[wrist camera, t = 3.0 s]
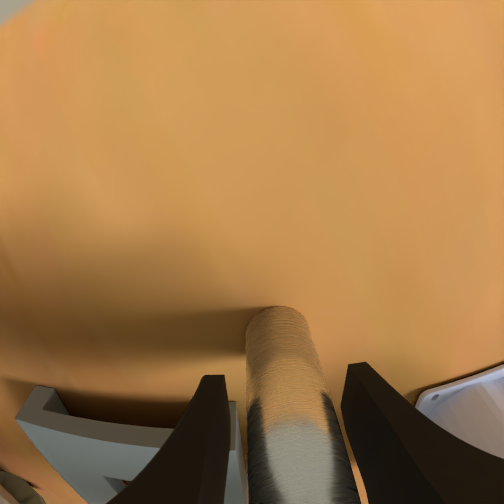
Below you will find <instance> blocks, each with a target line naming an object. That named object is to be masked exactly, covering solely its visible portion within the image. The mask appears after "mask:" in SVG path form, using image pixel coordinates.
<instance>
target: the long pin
mask: <svg viewBox="0 0 504 504" xmlns="http://www.w3.org/2000/svg"><path fill="white" fill-rule="evenodd" d="M246 399H247V453H248V498H249V504H361V501H360V497H359V493H358V490H357V486H356V482H355V479H354V475H353V471H352V468H351V464H350V461H349V457H348V454H347V450H346V447H345V443H344V440H343V436H342V433H341V429H340V426H339V423H338V419H337V416H336V412H335V409H334V406H333V402H332V399H331V396H330V393H329V389H328V386H327V383H326V380H325V376H324V373H323V370H322V367H321V363H320V360H319V357H318V354H317V351H316V348H315V344H314V341H313V338H312V335H311V332H310V329H309V326H308V323H307V321H306V319H305V317H304V316H303V315H302V314H301V313H299V312H298V311H296V310H294V309H292V308H289V307H282V306H277V307H271V308H267V309H264V310H262V311H260V312H259V313H257V314H256V315H255V316H254V317H253V318H252V319H251V320H250V321H249V323H248V325H247V328H246Z"/></svg>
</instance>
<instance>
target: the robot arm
mask: <svg viewBox="0 0 504 504" xmlns="http://www.w3.org/2000/svg"><path fill="white" fill-rule="evenodd" d="M341 411H342V416H343V421H344V425H345V430H346V433H347V436H348V439H349V442H350V445H351V448H352V451H353V453H354V456H355V459H356V462H357V465H358V468H359V471H360V473H361V476H362V479H363V482H364V486H365V489H366V493H367V498H368V503H369V504H504V364H503V365H500V366H498V367H495V368H493V369H490V370H487V371H485V372H482V373H479V374H476V375H473V376H470V377H467V378H464V379H461V380H458V381H455V382H452V383H449V384H445V385H442V386H439V387H435V388H432V389H428V390H426V391H424V392H422V394H421V395H420V396H419V398H418V401H417V403H416V405H415V407H414V406H413V405H412V404H410V403H409V402H408V401H407V400H406V399H405V398H404V397H403V396H401V395H400V394H399V393H398V392H397V391H396V390H395V389H394V388H393V387H392V386H391V385H390V384H388V383H387V382H386V381H385V380H384V379H383V378H382V377H381V376H380V375H379V374H378V373H377V372H376V371H375V370H374V369H373V368H372V367H371V366H370V365H369V364H368V363H367V362H361V363H355V364H348V369H347V375H346V380H345V385H344V391H343V396H342V401H341ZM230 444H231V415H230V409H229V402H228V396H227V389H226V382H225V376H224V375H205V376H203V377H202V379H201V381H200V384H199V386H198V388H197V390H196V392H195V394H194V396H193V398H192V400H191V402H190V403H189V405H188V407H187V409H186V411H185V412H184V414H183V416H182V417H181V419H180V420H179V422H178V424H177V425H176V427H175V428H174V430H173V431H172V433H171V434H170V436H169V437H168V438H167V440H166V441H165V443H164V444H163V446H162V447H161V448H160V450H159V451H158V452H157V453H156V455H155V456H154V457H153V458H152V459H151V461H150V462H149V463H148V464H147V465H146V466H145V468H144V469H143V470H142V471H141V472H140V473H139V474H138V475H137V476H136V477H135V478H134V479H133V480H132V481H131V482H130V483H129V484H128V485H127V486H126V487H125V488H124V489H123V490H122V491H120V492H119V493H118V494H117V495H116V496H115V497H113V498H112V499H111V500H110V501H108V502H107V503H106V504H224V496H225V488H226V479H227V470H228V462H229V453H230Z"/></svg>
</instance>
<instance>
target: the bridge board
mask: <svg viewBox="0 0 504 504" xmlns="http://www.w3.org/2000/svg"><path fill="white" fill-rule="evenodd" d="M229 409H230V415H231V444H230V453H229V462H228V470H227V479H226V488H225V496H224V504H249V498H248V481H247V475H246V468H245V462H244V455H243V448H242V441H241V434H240V426H239V419H238V411H237V404H236V402H229ZM15 420H16V421H17V423H18V424H19V425H20V427H21V428H22V430H23V431H24V432H25V434H26V435H27V436H28V438H29V439H30V440H31V441H32V443H33V444H34V445H35V447H36V448H37V449H38V450H39V451H40V453H41V454H42V455H43V456H44V457H45V459H46V460H47V461H48V462H49V463H50V464H51V466H52V467H53V468H54V469H55V470H56V471H57V472H58V473H59V475H60V476H61V477H62V478H63V479H64V480H65V481H66V482H67V483H68V484H69V485H70V486H71V487H72V488H73V489H74V490H75V491H76V492H77V493H78V494H79V495H80V496H81V497H82V498H83V499H84V500H85V501H86V502H87V503H88V504H106V503H107V502H108V501H110V500H111V499H112V498H113V497H115V496H116V495H117V494H118V493H119V492H120V491H122V490H123V489H124V488H125V487H126V485H125V483H124V482H123V481H122V480H127V481H132V480H133V479H134V478H135V477H136V476H137V475H138V474H139V473H140V472H141V471H142V470H143V469H144V468H145V466H146V465H147V464H148V463H149V462H150V461H151V459H152V458H153V457H154V456H155V455H156V453H157V452H158V451H159V450H160V448H161V447H162V446H163V444H164V443H165V441H166V440H167V438H168V437H169V436H170V434H171V433H172V431H173V430H174V429H170V428H155V427H144V426H134V425H125V424H117V423H110V422H103V421H96V420H90V419H85V418H79V417H74V416H70V415H69V414H68V412H67V410H66V409H65V407H64V405H63V403H62V402H61V400H60V398H59V396H58V394H57V393H56V391H55V389H54V388H48V387H43V386H38V385H36V386H35V388H34V389H33V391H32V392H31V394H30V395H29V397H28V398H27V400H26V401H25V403H24V404H23V406H22V408H21V409H20V411H19V412H18V414H17V416H16V417H15Z"/></svg>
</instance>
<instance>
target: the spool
mask: <svg viewBox="0 0 504 504" xmlns="http://www.w3.org/2000/svg"><path fill="white" fill-rule="evenodd" d="M0 504H46V503H45V501H44V499H43V498H42V497H41V496H40V495H39V494H38V493H37V492H36V491H35V490H34V489H33V488H32V487H31V486H30V485H29V484H28V483H27V482H26V481H25V480H24V479H21V478H19V477H17V476H15V475H12V474H10V473H8V472H5V471H0Z"/></svg>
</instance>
